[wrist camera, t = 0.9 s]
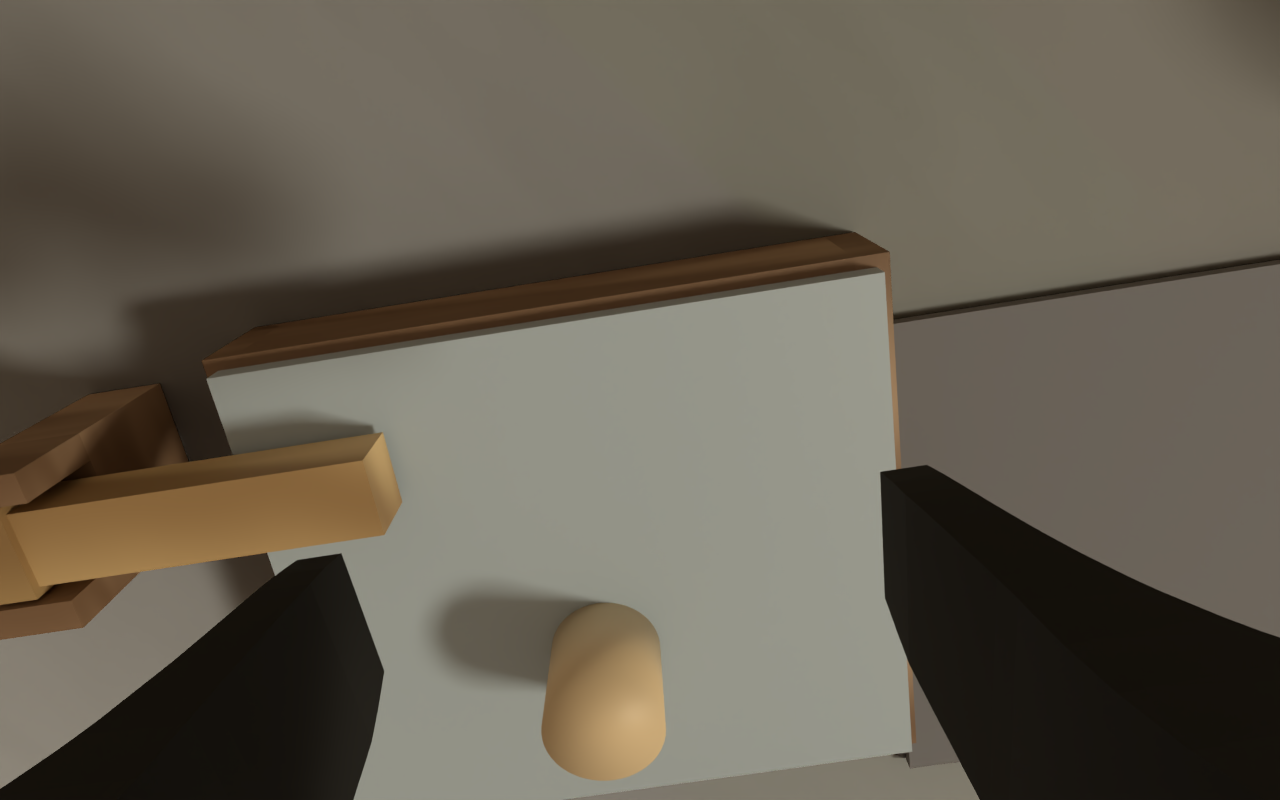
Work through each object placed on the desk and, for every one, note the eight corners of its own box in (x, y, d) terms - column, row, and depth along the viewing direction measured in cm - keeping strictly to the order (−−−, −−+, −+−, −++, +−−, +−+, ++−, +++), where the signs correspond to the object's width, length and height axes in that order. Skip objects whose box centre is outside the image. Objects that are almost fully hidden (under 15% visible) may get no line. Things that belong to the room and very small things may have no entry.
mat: (1432, 686, 27) (1444, 695, 27) (906, 759, 28) (910, 768, 27) (1526, 221, 22) (1542, 223, 22) (880, 321, 23) (884, 325, 22)
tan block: (406, 505, 20) (384, 547, 18) (51, 559, 20) (-7, 605, 18) (383, 420, 19) (357, 455, 17) (14, 477, 20) (-50, 517, 18)
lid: (896, 716, 24) (952, 843, 20) (377, 788, 25) (328, 926, 21) (867, 260, 20) (932, 303, 16) (232, 360, 20) (133, 428, 16)
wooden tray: (885, 674, 26) (953, 823, 21) (238, 765, 27) (141, 932, 22) (854, 231, 22) (932, 276, 16) (73, 356, 22) (-103, 438, 17)
